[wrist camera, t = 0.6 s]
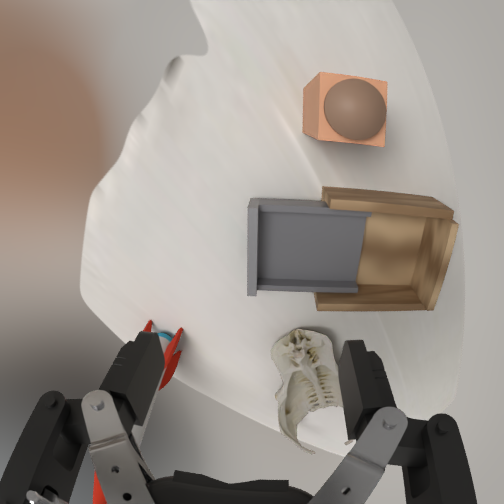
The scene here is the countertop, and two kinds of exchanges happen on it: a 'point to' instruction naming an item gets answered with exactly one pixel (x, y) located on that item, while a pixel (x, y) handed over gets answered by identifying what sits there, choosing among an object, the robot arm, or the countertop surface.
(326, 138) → the tin
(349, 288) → the tray
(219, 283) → the countertop surface
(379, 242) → the dock
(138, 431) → the toy rocket
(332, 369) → the anatomical model
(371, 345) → the countertop surface
